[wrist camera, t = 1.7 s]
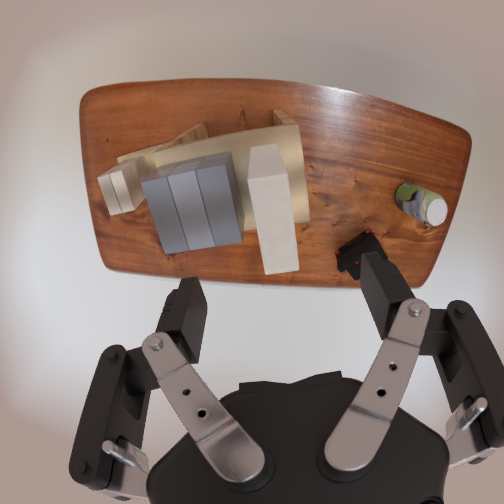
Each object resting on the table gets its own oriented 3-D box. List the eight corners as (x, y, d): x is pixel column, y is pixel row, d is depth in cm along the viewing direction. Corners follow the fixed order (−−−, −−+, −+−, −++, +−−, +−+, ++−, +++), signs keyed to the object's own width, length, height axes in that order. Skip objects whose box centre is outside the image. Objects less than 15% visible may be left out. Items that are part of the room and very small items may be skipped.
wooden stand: (198, 123, 45) (131, 167, 21) (278, 108, 44) (308, 131, 19) (210, 175, 51) (167, 268, 26) (287, 162, 49) (319, 246, 25)
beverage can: (389, 205, 53) (415, 234, 43) (399, 172, 49) (429, 194, 39) (413, 210, 53) (441, 238, 43) (423, 178, 49) (455, 202, 39)
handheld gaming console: (353, 278, 63) (365, 307, 54) (325, 242, 58) (336, 271, 49) (387, 255, 59) (404, 282, 51) (362, 216, 54) (380, 241, 46)
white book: (250, 147, 25) (247, 179, 16) (276, 142, 25) (287, 173, 16) (262, 214, 29) (265, 275, 20) (286, 211, 28) (299, 270, 20)
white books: (117, 156, 48) (91, 173, 39) (195, 135, 47) (180, 146, 38) (131, 198, 53) (109, 222, 44) (206, 181, 51) (195, 203, 42)
